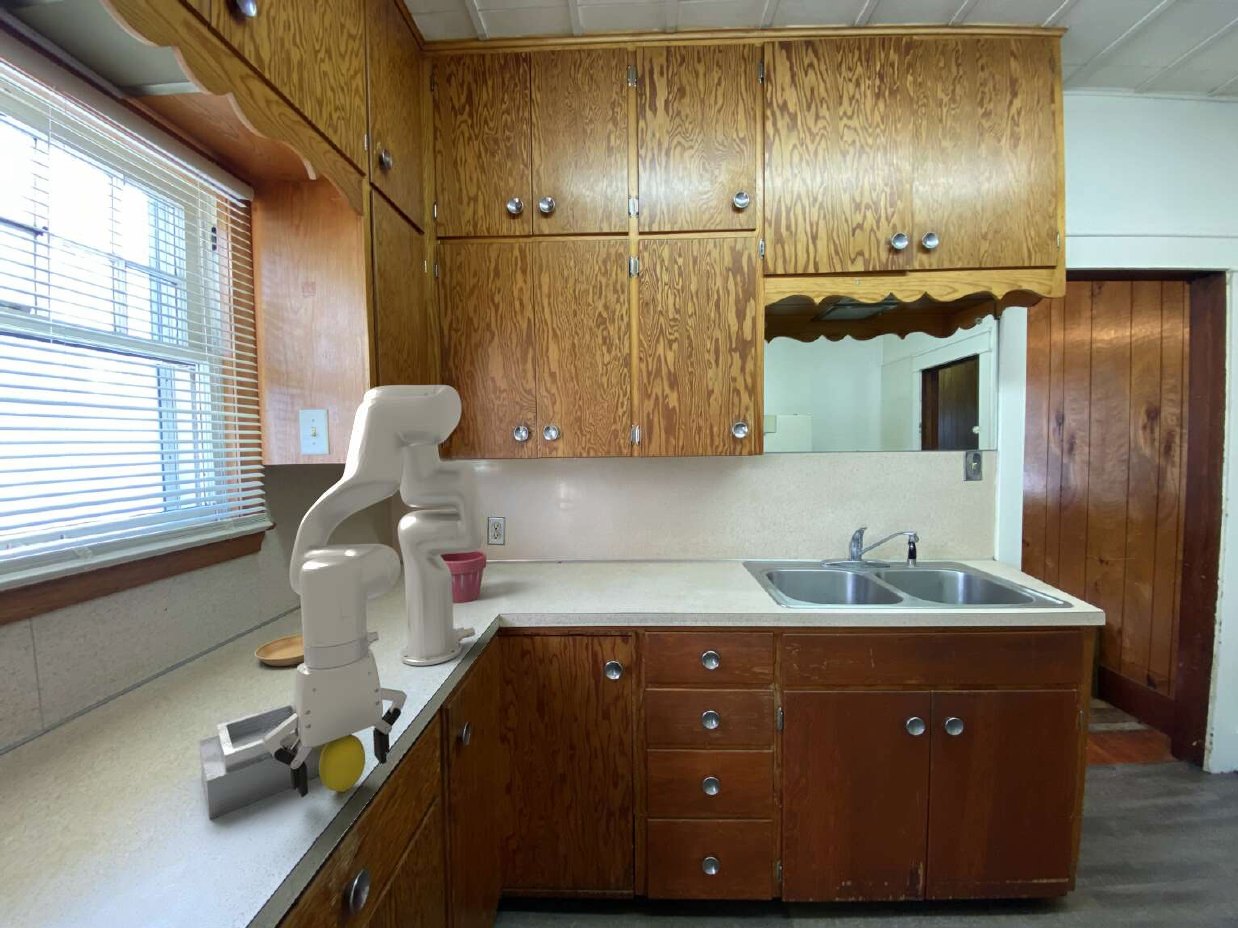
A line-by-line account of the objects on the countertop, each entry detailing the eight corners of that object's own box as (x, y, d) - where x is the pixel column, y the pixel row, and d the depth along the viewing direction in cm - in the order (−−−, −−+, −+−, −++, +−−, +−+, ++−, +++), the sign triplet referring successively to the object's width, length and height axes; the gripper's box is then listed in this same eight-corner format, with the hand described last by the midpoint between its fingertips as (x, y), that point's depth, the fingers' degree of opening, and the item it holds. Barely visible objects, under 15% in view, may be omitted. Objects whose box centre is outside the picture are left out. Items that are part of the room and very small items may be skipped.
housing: (332, 729, 87) (330, 687, 87) (354, 761, 78) (352, 715, 78) (201, 775, 76) (198, 727, 76) (209, 819, 67) (205, 765, 67)
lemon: (348, 807, 69) (345, 747, 68) (310, 803, 70) (307, 743, 69) (375, 779, 74) (372, 724, 74) (339, 776, 75) (336, 721, 75)
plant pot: (485, 604, 151) (483, 559, 150) (433, 607, 148) (431, 562, 148) (489, 589, 165) (488, 548, 164) (442, 592, 163) (440, 551, 162)
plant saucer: (265, 649, 122) (264, 638, 122) (337, 639, 127) (337, 628, 127) (246, 676, 108) (245, 663, 108) (328, 663, 114) (327, 651, 113)
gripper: (393, 626, 79) (398, 737, 80) (253, 661, 68) (262, 790, 69) (412, 640, 74) (417, 759, 75) (263, 680, 62) (272, 821, 63)
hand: (343, 774), depth 72 cm, fingers open, 9 cm apart
